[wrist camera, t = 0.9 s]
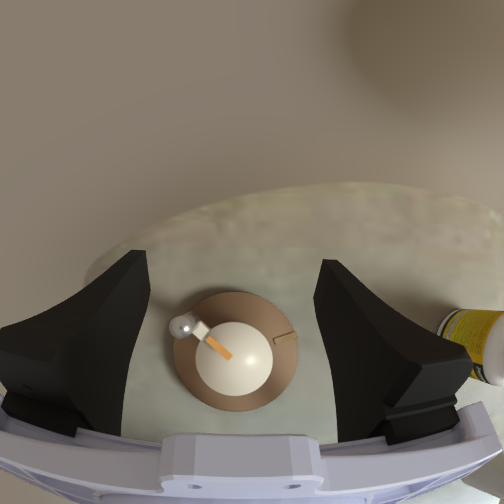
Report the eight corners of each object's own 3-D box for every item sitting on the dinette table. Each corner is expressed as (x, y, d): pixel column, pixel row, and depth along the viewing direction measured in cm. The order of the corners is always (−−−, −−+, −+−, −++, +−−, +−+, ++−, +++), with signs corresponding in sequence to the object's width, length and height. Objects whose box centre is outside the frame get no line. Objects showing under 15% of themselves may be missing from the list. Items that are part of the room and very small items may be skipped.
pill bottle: (423, 359, 25) (499, 385, 14) (446, 299, 26) (527, 299, 15) (462, 376, 25) (535, 400, 14) (483, 321, 25) (559, 326, 14)
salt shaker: (489, 427, 24) (559, 461, 11) (480, 464, 23) (541, 503, 10) (454, 443, 24) (525, 490, 11) (445, 481, 23) (504, 532, 10)
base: (241, 427, 24) (240, 438, 22) (153, 353, 25) (145, 358, 23) (320, 344, 25) (326, 349, 23) (230, 266, 26) (228, 264, 24)
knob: (287, 354, 23) (295, 368, 18) (238, 406, 22) (236, 428, 18) (209, 287, 23) (201, 286, 19) (161, 340, 23) (144, 350, 18)
